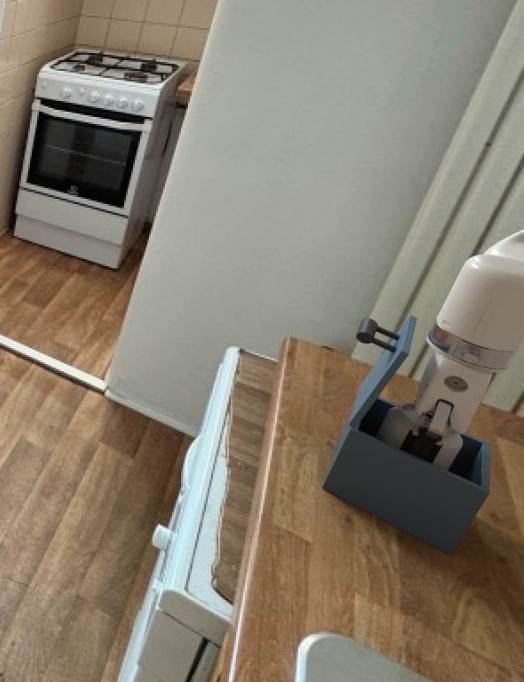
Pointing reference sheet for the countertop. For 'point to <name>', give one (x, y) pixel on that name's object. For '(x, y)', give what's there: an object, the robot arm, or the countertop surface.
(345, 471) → the compartment
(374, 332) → the lid
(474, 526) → the countertop surface
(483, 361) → the robot arm
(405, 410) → the can
